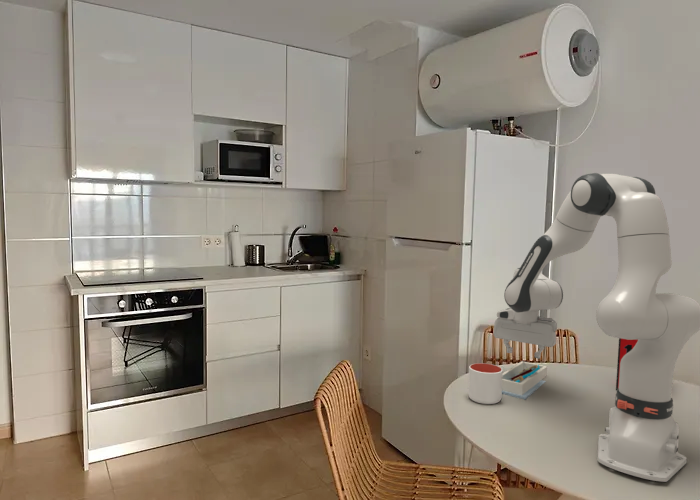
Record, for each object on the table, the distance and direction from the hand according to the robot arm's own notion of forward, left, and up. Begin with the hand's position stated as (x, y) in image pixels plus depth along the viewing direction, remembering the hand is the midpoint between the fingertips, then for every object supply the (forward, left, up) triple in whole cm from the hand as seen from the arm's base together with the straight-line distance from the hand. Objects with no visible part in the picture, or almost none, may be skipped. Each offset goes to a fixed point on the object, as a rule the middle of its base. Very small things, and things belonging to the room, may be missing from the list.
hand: (523, 355), depth 165 cm
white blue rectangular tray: (0, 0, -10) cm, 10 cm away
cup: (-21, +4, -11) cm, 24 cm away
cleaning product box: (+21, -31, -11) cm, 39 cm away
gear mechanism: (0, +4, -8) cm, 9 cm away
